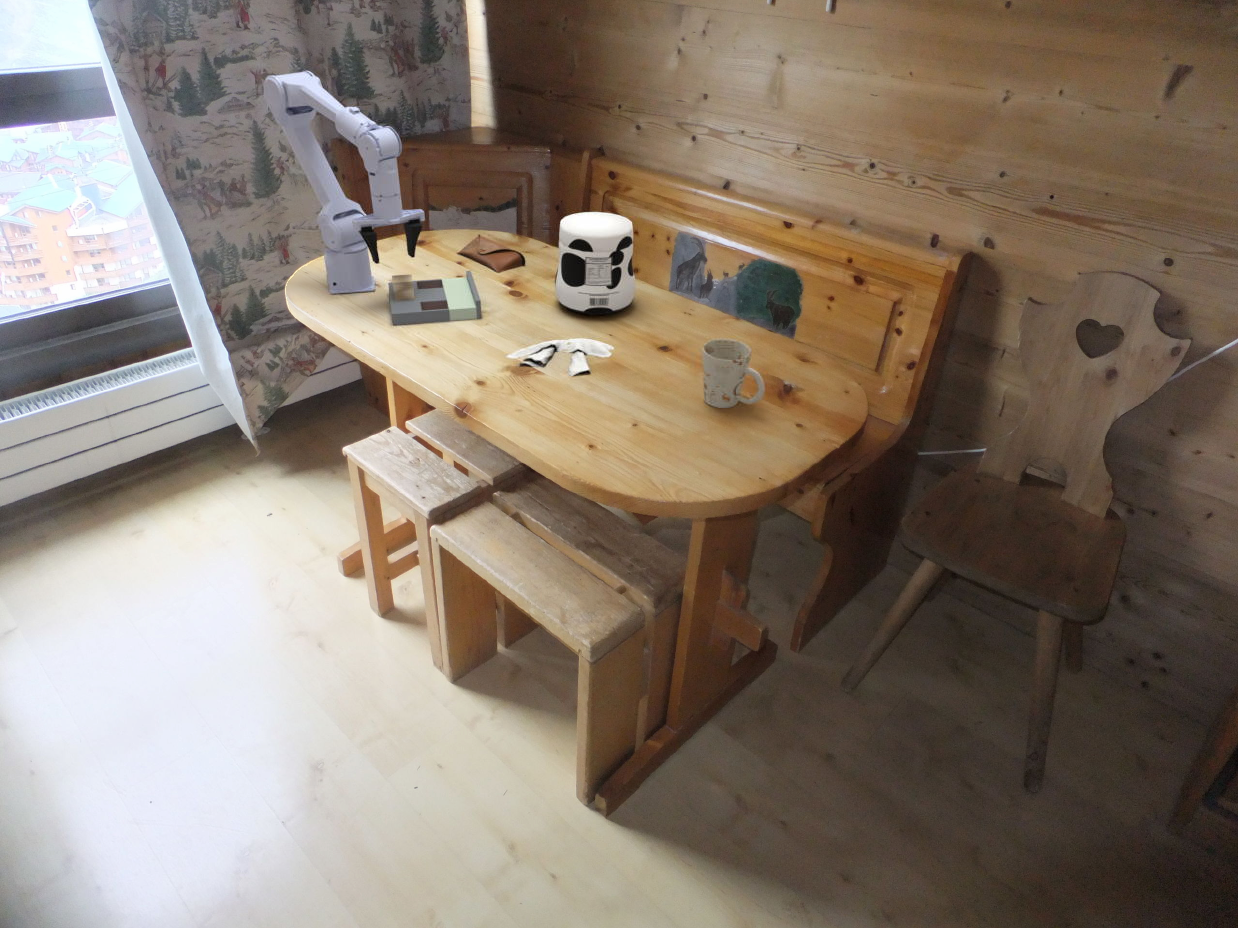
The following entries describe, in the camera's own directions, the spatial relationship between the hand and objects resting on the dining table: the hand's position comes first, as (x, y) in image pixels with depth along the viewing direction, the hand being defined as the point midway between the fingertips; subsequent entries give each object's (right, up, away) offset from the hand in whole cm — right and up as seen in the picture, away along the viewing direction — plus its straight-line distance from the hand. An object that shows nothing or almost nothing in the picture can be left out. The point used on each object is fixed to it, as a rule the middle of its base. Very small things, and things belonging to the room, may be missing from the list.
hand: (394, 259), depth 169 cm
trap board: (+6, -9, +4) cm, 12 cm away
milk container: (+42, -8, +8) cm, 43 cm away
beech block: (+2, -8, +1) cm, 8 cm away
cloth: (+36, -24, -14) cm, 45 cm away
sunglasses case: (+15, +7, +29) cm, 33 cm away
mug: (+67, -32, -26) cm, 79 cm away
